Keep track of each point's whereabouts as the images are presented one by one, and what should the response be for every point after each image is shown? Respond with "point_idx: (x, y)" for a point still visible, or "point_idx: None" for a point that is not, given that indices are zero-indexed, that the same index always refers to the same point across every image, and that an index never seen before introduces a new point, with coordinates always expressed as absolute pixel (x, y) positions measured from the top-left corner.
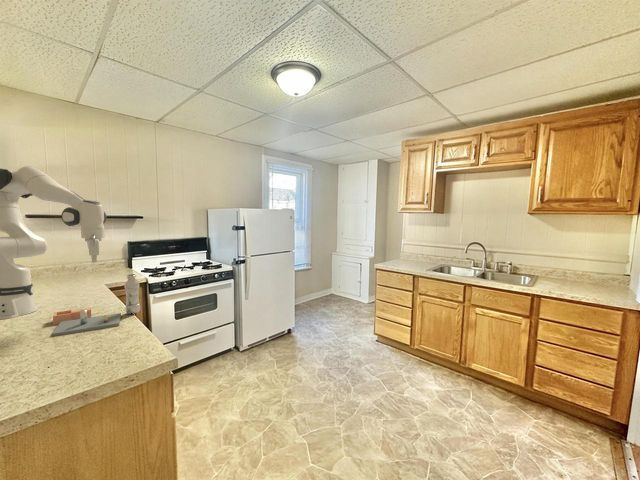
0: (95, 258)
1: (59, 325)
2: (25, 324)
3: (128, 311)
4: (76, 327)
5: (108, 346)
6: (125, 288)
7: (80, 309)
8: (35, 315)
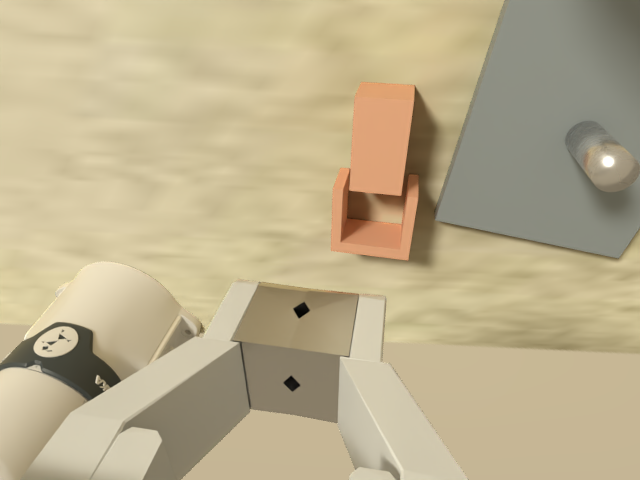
0: (393, 393)
1: (501, 229)
2: None
3: None
4: None
5: None
6: None
7: (359, 150)
8: (205, 271)
